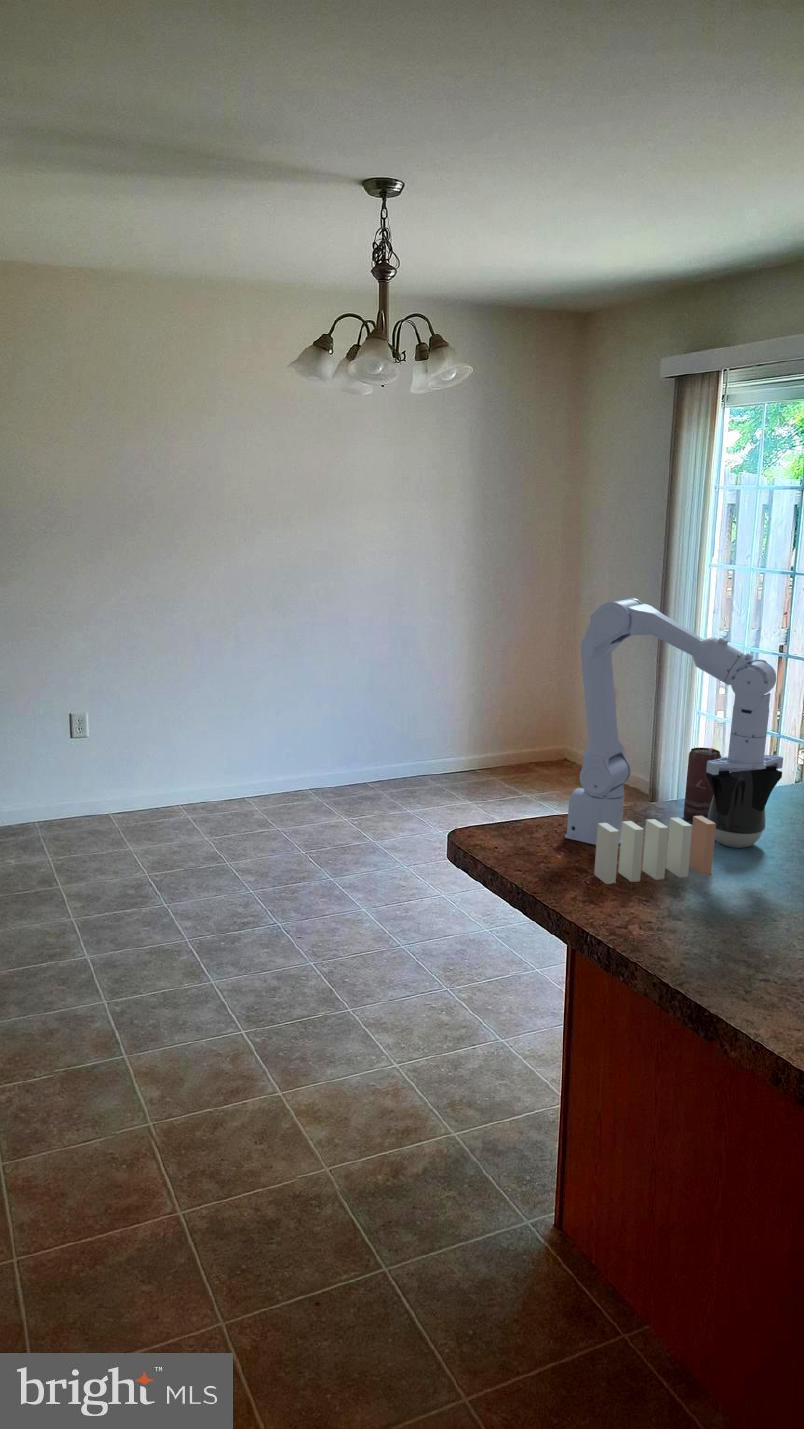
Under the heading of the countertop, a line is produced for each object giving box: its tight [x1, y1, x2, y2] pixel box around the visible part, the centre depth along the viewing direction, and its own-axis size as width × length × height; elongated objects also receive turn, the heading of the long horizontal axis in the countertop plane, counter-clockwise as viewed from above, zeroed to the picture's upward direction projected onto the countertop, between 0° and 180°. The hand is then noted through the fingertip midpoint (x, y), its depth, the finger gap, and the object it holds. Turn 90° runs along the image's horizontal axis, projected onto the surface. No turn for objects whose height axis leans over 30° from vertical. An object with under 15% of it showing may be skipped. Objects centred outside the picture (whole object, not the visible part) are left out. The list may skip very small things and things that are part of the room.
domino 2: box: [618, 820, 645, 883], centre depth 174 cm, size 2×4×9 cm, turn 17°
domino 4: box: [665, 817, 693, 878], centre depth 176 cm, size 2×4×9 cm, turn 17°
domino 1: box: [593, 823, 619, 885], centre depth 173 cm, size 2×4×9 cm, turn 17°
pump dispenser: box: [707, 770, 766, 849], centre depth 191 cm, size 10×10×15 cm
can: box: [683, 747, 722, 823], centre depth 205 cm, size 6×6×14 cm
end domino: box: [689, 816, 716, 876], centre depth 178 cm, size 2×4×9 cm, turn 17°
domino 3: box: [641, 818, 669, 881], centre depth 175 cm, size 2×4×9 cm, turn 17°
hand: (740, 811), depth 178 cm, fingers open, 7 cm apart
